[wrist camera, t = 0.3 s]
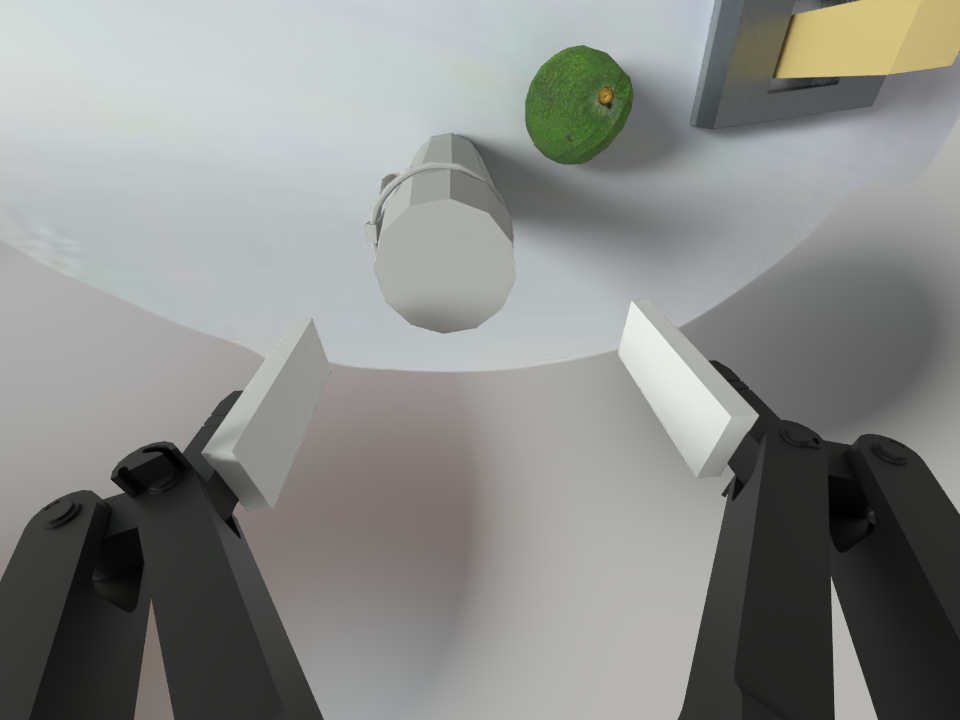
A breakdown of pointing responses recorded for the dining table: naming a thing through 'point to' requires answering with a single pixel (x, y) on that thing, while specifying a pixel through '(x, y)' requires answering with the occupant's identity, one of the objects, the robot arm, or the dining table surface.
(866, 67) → the yellow tall block
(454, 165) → the water bottle
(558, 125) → the avocado
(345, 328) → the dining table surface
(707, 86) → the jack panel
